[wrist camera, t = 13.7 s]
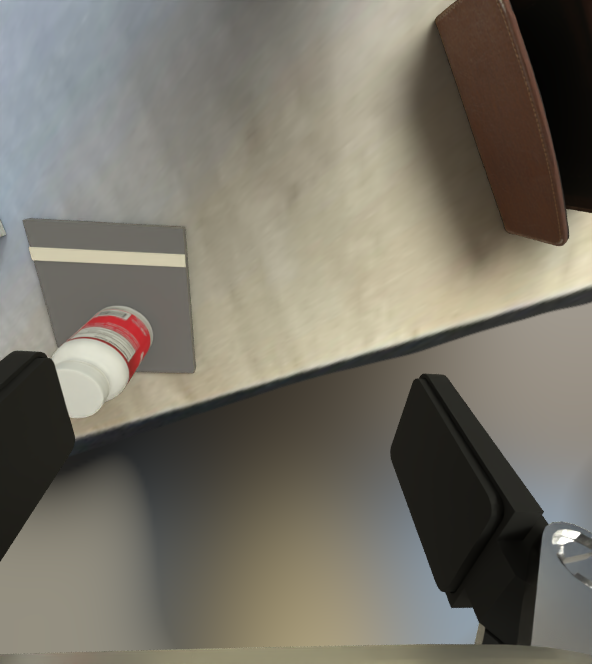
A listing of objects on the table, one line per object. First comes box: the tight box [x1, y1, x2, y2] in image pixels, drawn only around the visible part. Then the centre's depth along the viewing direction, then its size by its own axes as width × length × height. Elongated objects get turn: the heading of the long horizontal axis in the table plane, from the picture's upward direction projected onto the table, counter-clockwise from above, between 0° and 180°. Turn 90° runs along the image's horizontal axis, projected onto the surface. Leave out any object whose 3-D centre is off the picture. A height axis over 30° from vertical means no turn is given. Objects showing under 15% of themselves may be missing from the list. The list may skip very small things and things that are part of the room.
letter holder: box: [435, 0, 592, 246], centre depth 24 cm, size 10×20×14 cm, turn 33°
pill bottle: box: [51, 306, 153, 418], centre depth 31 cm, size 6×6×11 cm
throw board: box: [23, 218, 196, 373], centre depth 35 cm, size 16×14×1 cm
